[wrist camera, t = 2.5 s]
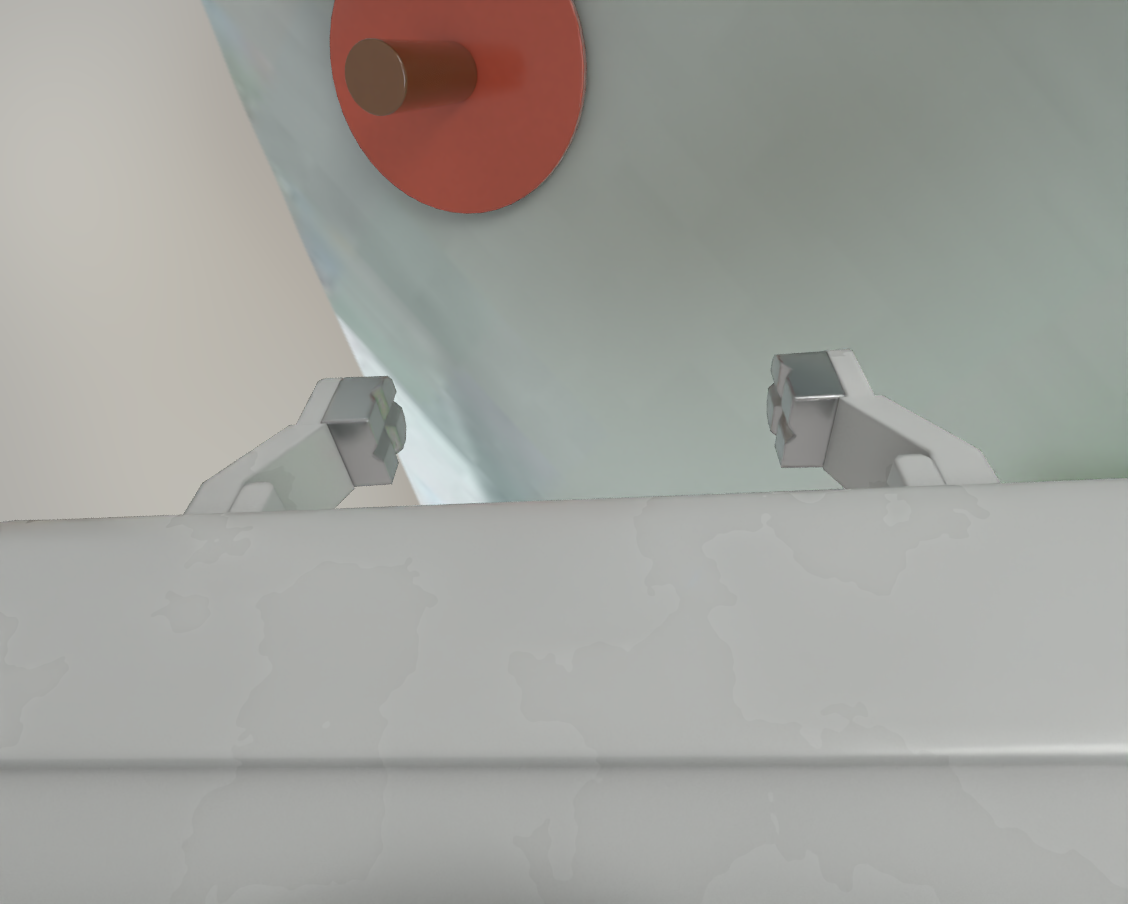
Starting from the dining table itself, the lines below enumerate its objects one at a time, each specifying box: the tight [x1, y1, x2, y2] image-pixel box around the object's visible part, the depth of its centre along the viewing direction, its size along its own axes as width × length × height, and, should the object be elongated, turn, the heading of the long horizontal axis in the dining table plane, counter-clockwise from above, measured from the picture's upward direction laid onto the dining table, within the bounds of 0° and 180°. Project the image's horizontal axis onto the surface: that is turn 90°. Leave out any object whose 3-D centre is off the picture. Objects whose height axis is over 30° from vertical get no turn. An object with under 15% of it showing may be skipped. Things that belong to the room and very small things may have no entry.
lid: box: [330, 0, 587, 214], centre depth 29 cm, size 13×13×9 cm
